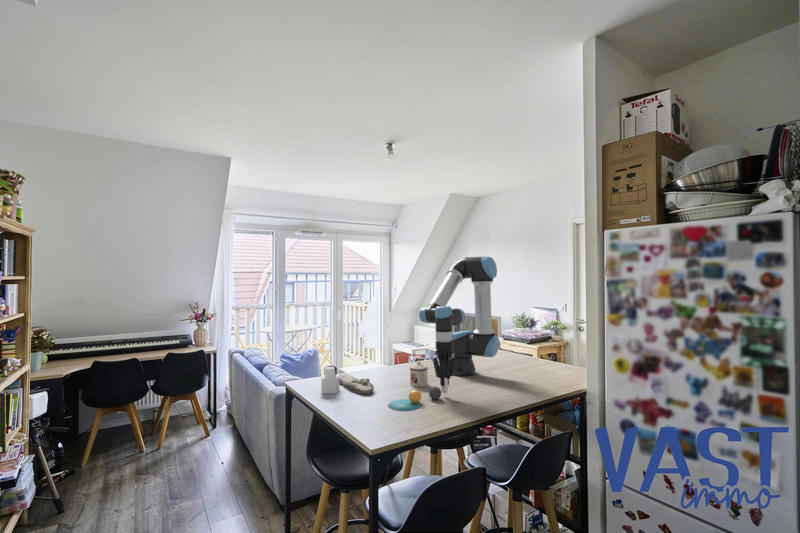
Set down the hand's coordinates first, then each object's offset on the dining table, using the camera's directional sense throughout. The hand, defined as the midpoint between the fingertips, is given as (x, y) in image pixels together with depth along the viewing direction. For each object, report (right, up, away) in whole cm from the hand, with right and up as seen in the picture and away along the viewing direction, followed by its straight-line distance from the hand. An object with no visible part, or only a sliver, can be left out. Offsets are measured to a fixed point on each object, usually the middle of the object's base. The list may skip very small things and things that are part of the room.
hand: (444, 392), depth 175 cm
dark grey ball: (-5, +1, -3) cm, 6 cm away
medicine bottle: (-54, -3, +10) cm, 55 cm away
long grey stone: (-43, -4, +19) cm, 48 cm away
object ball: (-14, +1, -8) cm, 16 cm away
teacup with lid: (-10, -3, +18) cm, 21 cm away
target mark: (-18, -2, -10) cm, 21 cm away
